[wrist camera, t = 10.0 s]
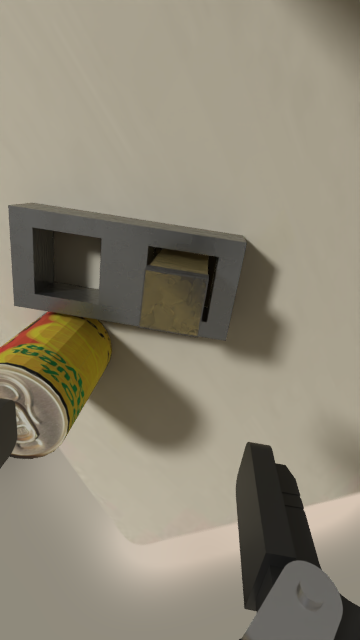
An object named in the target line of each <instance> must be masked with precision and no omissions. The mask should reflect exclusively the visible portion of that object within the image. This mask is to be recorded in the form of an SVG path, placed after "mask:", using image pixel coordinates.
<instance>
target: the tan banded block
mask: <svg viewBox="0 0 360 640" xmlns="http://www.w3.org/2000/svg"><path fill="white" fill-rule="evenodd" d="M208 257H209V255H203V254H197V253H191V252H185V251H178V250H172V249H166V248H163V249H162V250H161V251H160V253H159V254H158V255H157V257H156V258H155V259H154V260H153V262H152V263H151V264H150V265H147V266H146V267H145V270H144V279H143V288H142V298H141V307H140V317H139V326H138V327H140V328H146V329H151V330H157V331H163V332H169V333H175V334H181V335H186V336H192V337H198V335H199V330H200V324H201V319H202V313H203V308H204V303H205V297H206V292H207V287H208V281H209V275H208Z"/></svg>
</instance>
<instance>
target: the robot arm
mask: <svg viewBox="0 0 360 640" xmlns="http://www.w3.org/2000/svg"><path fill="white" fill-rule="evenodd" d="M17 436H18V435H17V419H16V406H15V402H14V401H13V400H9V399H4V398H0V468H1V467H2V465H3V464H4V462H5V461H6V460H7V459H8V457H9V456H10V455H11V453H12V452H13V450H14V447H15V445H16V442H17ZM236 502H237V516H238V529H239V542H240V555H241V567H242V581H243V594H244V608H245V609H248V610H253V611H257V614H256V616H255V617H254V619H253V621H252V622H251V624H250V626H249V627H248V629H247V631H246V632H245V634H244V635H243V637H242V638H241V639H239V640H360V607H359V606H357V605H355V604H354V603H352V602H350V601H348V600H347V599H346V598H345V597H343V596H342V595H341V594H340V593H339V592H338V590H337V588H336V586H335V584H334V583H333V582H332V580H331V579H330V578H329V577H328V575H327V574H326V573H324V572H323V571H322V569H321V567H320V564H319V561H318V557H317V554H316V550H315V547H314V543H313V539H312V536H311V532H310V529H309V525H308V522H307V518H306V515H305V512H304V510H303V509H304V507H303V504H302V500H301V498H300V493H299V490H298V486H297V483H296V479H295V478H294V477H293V475H292V474H291V472H290V471H289V469H288V468H287V467H286V465H282V464H276V463H275V460H274V456H273V451H272V448H271V446H269V445H263V444H257V443H252V442H248V443H247V444H246V447H245V451H244V454H243V458H242V461H241V465H240V468H239V472H238V476H237V482H236Z"/></svg>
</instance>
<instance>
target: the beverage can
mask: <svg viewBox="0 0 360 640" xmlns="http://www.w3.org/2000/svg"><path fill="white" fill-rule="evenodd" d="M111 353H112V347H111V340H110V338H109V335H108V333H107V331H106V330H105V328H104V327H103V326H102V324H101V323H100V322H99V321H98V320H97V319H91V318H85V317H79V316H73V315H67V314H61V313H55V312H49V311H48V312H47V313H45V314H44V315H42V316H41V317H40V318H38V319H37V320H36V321H34V322H33V323H32V324H30V325H29V326H28V327H26V328H25V329H24V330H23V331H21V332H20V333H19V334H17V335H16V336H15V337H13V338H12V339H11V340H9V341H8V342H7V343H6V344H4V345H3V346H2V347H0V398H4V399H9V400H13V401H14V402H15V406H16V419H17V435H18V436H17V442H16V445H15V447H14V450H13V452H12V453H11V455H10V457H14V458H22V459H33V458H38V457H43V456H45V455H47V454H49V453H51V452H54V451H55V450H56V449H57V448H58V447H59V446H60V445H61V444H62V443H63V441H64V439H65V437H66V436H67V434H68V432H69V431H70V429H71V427H72V425H73V424H74V422H75V420H76V419H77V417H78V415H79V413H80V412H81V410H82V408H83V407H84V405H85V403H86V401H87V400H88V398H89V396H90V394H91V393H92V391H93V389H94V388H95V386H96V384H97V382H98V381H99V379H100V377H101V376H102V374H103V372H104V370H105V369H106V367H107V365H108V363H109V361H110V359H111Z"/></svg>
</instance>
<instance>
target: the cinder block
mask: <svg viewBox="0 0 360 640" xmlns="http://www.w3.org/2000/svg"><path fill="white" fill-rule="evenodd" d="M8 208H9V225H10V242H11V258H12V275H13V292H14V306H19V307H25V308H31V309H37V310H43V311H49V312H55V313H61V314H67V315H73V316H79V317H85V318H91V319H98V320H104V321H110V322H116V323H122V324H128V325H134V326H139V317H140V307H141V298H142V288H143V279H144V270H145V267H146V266H147V265H150V264H151V263H152V262H153V260H154V251H155V247H160V248H166V249H172V250H178V251H185V252H191V253H197V254H204V255H210V256H216V257H217V259H216V264H215V269H214V275H213V280H212V286H211V291H210V296H209V302H208V307H204V308H203V313H202V319H201V324H200V330H199V335H198V336H200V337H206V338H212V339H218V340H224V341H226V337H227V332H228V328H229V323H230V318H231V314H232V309H233V305H234V300H235V295H236V291H237V286H238V281H239V277H240V272H241V268H242V263H243V258H244V254H245V249H246V245H247V242H246V240H245V239H244V237H243V236H242V235H235V234H229V233H222V232H216V231H210V230H203V229H197V228H190V227H184V226H178V225H171V224H165V223H158V222H152V221H146V220H139V219H133V218H126V217H120V216H114V215H107V214H101V213H94V212H88V211H82V210H75V209H69V208H62V207H56V206H50V205H43V204H37V203H26V204H15V205H8ZM53 231H59V232H65V233H71V234H78V235H84V236H90V237H96V238H102V242H101V263H100V285H99V289H93V288H86V287H80V286H74V285H68V284H62V283H56V282H54V246H53Z"/></svg>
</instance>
